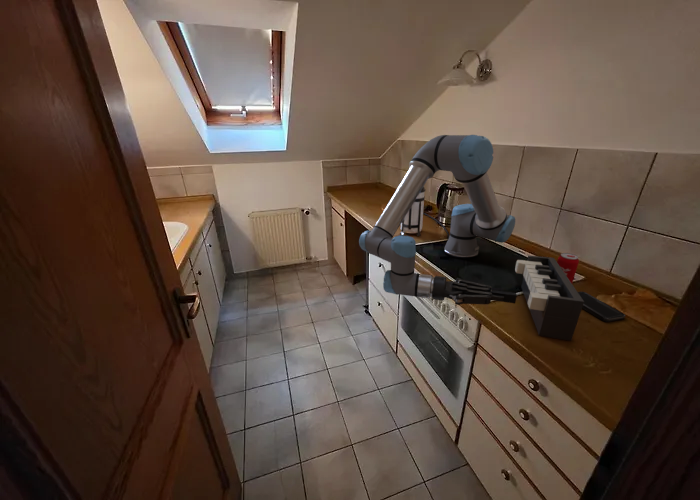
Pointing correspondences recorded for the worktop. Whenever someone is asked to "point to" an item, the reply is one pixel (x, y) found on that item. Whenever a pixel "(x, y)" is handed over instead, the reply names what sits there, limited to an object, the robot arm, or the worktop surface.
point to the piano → (552, 298)
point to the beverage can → (568, 264)
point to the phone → (600, 308)
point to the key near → (537, 301)
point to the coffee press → (414, 216)
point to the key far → (521, 264)
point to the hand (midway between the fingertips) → (515, 298)
